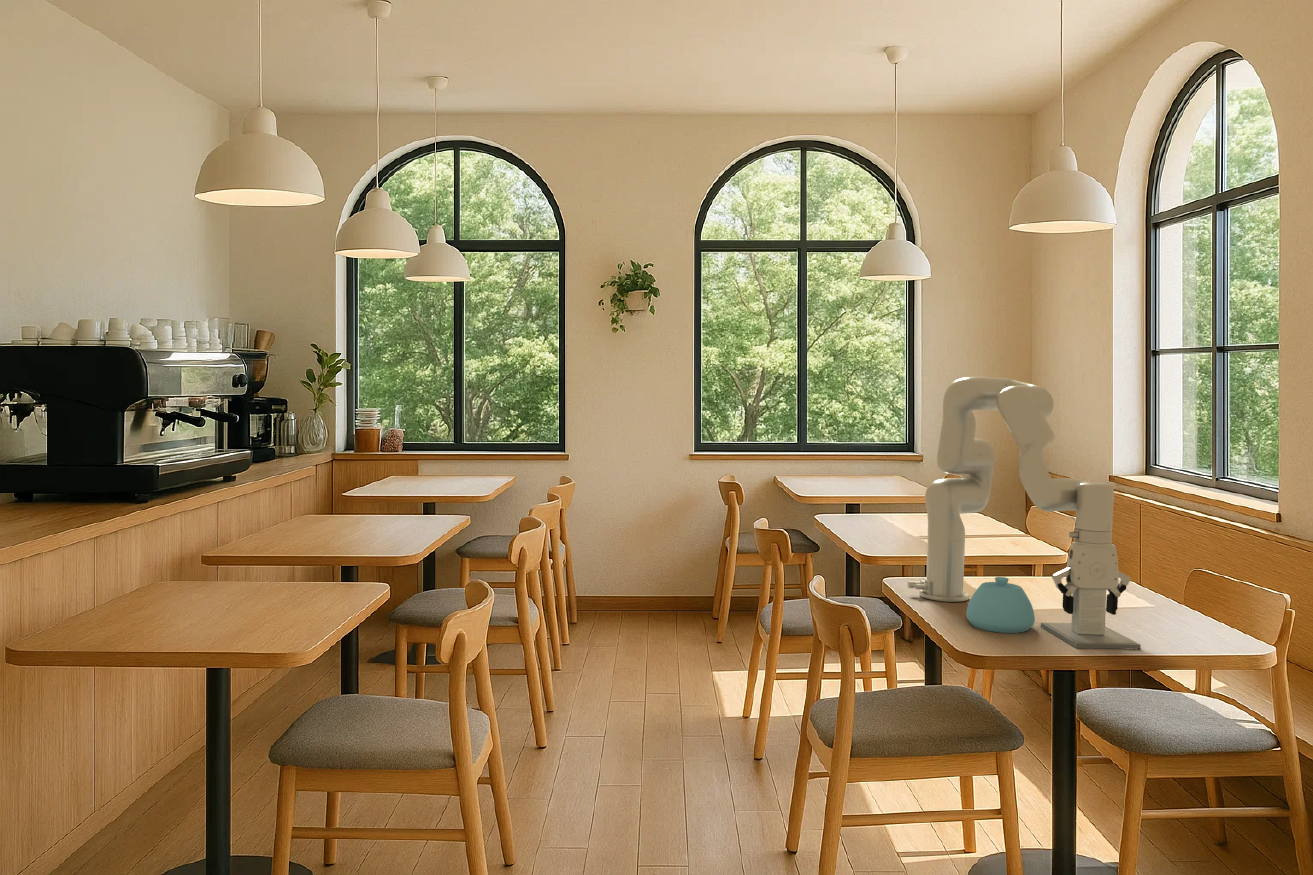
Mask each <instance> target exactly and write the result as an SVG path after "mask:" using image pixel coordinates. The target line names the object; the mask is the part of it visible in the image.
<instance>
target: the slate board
mask: <svg viewBox="0 0 1313 875" xmlns="http://www.w3.org/2000/svg"><path fill="white" fill-rule="evenodd" d="M1071 624H1072V622H1040V628H1042V627H1043V628H1044V629H1043V628H1042V629H1043V630H1045V631H1047V632H1048V631H1049V632H1048V633H1050V634H1052V635H1054V636H1055V637H1057V638H1058V637H1059V638H1058V639H1059V640H1062V641H1063V642H1065V643H1067V644H1068V645H1070V646H1072V647H1074V649H1092V648H1142V647H1141V644H1140V643H1138V642H1137V641H1134V640H1132V639H1131V638H1129V637H1127V636H1125V635H1123V634H1121V633H1119V632H1117V631H1115V630H1114V629H1112V628H1109V627H1107V626H1106V625H1105V635H1087V634H1077V633H1075V632H1074V631H1072V629H1071Z"/></svg>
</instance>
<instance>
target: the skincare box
mask: <svg viewBox="0 0 1313 875" xmlns="http://www.w3.org/2000/svg"><path fill="white" fill-rule="evenodd" d="M1072 596H1073V597H1074V604H1073V613H1072V614H1071V623H1072V624H1071V629H1072V631H1074V632H1075V633H1077V634H1087V635H1105V626H1106V612H1107V611H1106V600H1107V590H1105V589H1079V588H1077V589H1076V590H1075V591H1074V592H1073V593H1072Z"/></svg>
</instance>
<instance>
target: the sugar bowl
mask: <svg viewBox="0 0 1313 875" xmlns="http://www.w3.org/2000/svg"><path fill="white" fill-rule="evenodd" d="M994 580H995V581H986V582H983V583H981V584H980V585H979V586H978V588H977V589H976V590H975V592H974V593H973V594H972V596H971V598H969V601H968V603H967V608H966V618H967V620H968V621H969V623H971V625H972V626H973V627H975V628H977V629H980V630H984V631H988V632H992V631H993V632H994V633H1000V634H1020V633H1019V632H1022V633H1025V632H1024V631H1026V632H1027V631H1029V630H1030V629H1031V628H1032V627H1033V626H1034V624H1035V623H1036V620H1035V619H1036V617H1035V612H1034V607H1033V604H1032V602H1031V600H1030V599H1029V597H1028V595H1027V594H1026V591H1025V590H1024V589H1023V588H1022V586H1020V585H1018V584H1014V583H1011V582H1009V578H1008V577H1005V576H996V577H994Z"/></svg>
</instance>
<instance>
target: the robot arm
mask: <svg viewBox="0 0 1313 875" xmlns="http://www.w3.org/2000/svg"><path fill="white" fill-rule="evenodd" d="M1054 404H1055V403H1054V399H1053V397H1052V395H1051V393H1050V391H1048V390H1047V389H1046V388H1045V387H1043V386H1040V385H1036V384H1032V383H1028V382H1025V381H1024V382H1023V381H1020V380H1016V379H1011V378H1006V377H992V376H991V377H990V376H967V377H961V378H958V379H956V380H954V381H952V382H951V383H950V384H948V386H947V388H946V389H945V392H944V394H943V400H942V424H941V429H940V434H939V442H938V449H937V454H936V463H937V468H938V469H939V471H941V472H942V473H944V474H948V475H961V477H960V478H959V477H952V478H951V477H949V478H940V479H939V478H938V479H935V480H934V481H933V482H931V483H930V484H929V485H928V486H927V488H926V490H925V494H924V495H925V496H924V498H925V499H924V500H925V508H926V512H927V544H926V545H927V552H926V575H925V577H922V580H921V579H920V580H919V581H916V580H911V581H910V580H908V581H907V588H908V589H915V590H919V596H920V597H922V598H924V599H927V600H932V601H937V602H946V603H947V602H950V603H952V602H953V603H954V602H956V603H957V602H958V603H959V602H966V601H968V600H970V594H969V592H966V591H964V581H965V580H964V577H965V575H964V574H965V571H964V570H965V555H966V554H965V550H966V548H965V547H966V529H965V525H964V521H963V520H962V517H961V514H962V515H963V514H965V515H966V514H974V513H978V512H979V513H980V512H981V511H983V510H984V509H985V508H986V506H987V505H988V502H989V500H990V496H991V491H992V490H991V489H992V482H993V477H994V470H995V464H996V463H995V462H996V456H995V451H994V448H993V447H992V444H990V443H989V442H988V440H985V439H983V438H979V437H978V438H976V436H975V434H976V430H977V423H976V417H975V414H974V412H973V411H998V412H999V414H1000V416H1001V418H1002V419H1003V421H1004V423H1005V426H1007V428H1008V430H1009V433H1010V434H1011V436H1012V438H1013V439H1014V441H1015V443H1016V445H1017V447H1018V449H1019V456H1018V463H1017V464H1018V476H1019V477H1018V478H1019V479H1020V482H1021V484H1022V486H1023V488H1024V490H1025V492H1026V494H1027V496H1028V497H1029V499H1030V500H1031V502H1032V503H1033V505H1034V506H1036V508H1038V509H1040V511H1042V512H1048V513H1051V512H1053V513H1054V512H1067V511H1068V512H1069V511H1071V512H1072V511H1075V523H1074V524H1075V526H1074V529H1073V531H1070V532H1069V533H1068V536H1069V538H1072V539H1073V541H1072V542H1071V545H1070V547H1069V552H1068V556H1067V563H1066V568H1064V569H1062V570H1059V571H1057V572H1055V573H1053V574H1051V578H1052V580H1053V583H1054V584H1055V587H1056V589H1058V590H1059V591H1060V593H1061V594H1062V608H1063V611H1064V612H1065V613H1067V614H1068V615H1072V613H1073V604H1074V597H1073V596H1072V593H1073V592H1074V591H1075V590H1076V589H1077V588H1079V589H1105V590H1106V591H1107V592H1108V593H1106V612H1107V613H1109V614H1111V615H1113V616H1115V615H1116V614H1117V610H1118V608H1119V606H1118V604H1119V603H1118V602H1119V597H1121V594H1123V592H1125V591H1126V590H1127V587H1128V585H1129V584H1130V582H1131V579H1132V578H1131V576H1129V575H1127V574H1125V573H1123V572H1121V571H1120V570H1119V560H1118V554H1117V552H1118V551H1117V547H1116V545H1115V544H1113V543H1112V542H1113V540H1112V539H1113V520H1114V519H1113V518H1114V501H1115V490H1114V487H1113V485H1112V484H1110V483H1106V482H1101V481H1100V482H1099V481H1088V480H1085V479H1081V478H1077V477H1066V478H1065V477H1061V478H1060V477H1057V478H1052V477H1051V475H1050V473H1049V472H1048V469H1047V468H1046V465H1045V463H1044V460H1043V453H1044V452H1043V451H1045V450H1046V449H1047V448H1048V447H1050V446H1051V445H1052V444H1053V442H1054V441H1055V438H1056V437H1055V433H1054V431H1053V430H1052V427H1051V426H1050V423H1048V421H1047V419H1046V418H1048V417H1049V416H1050V415H1051V414H1052V413H1053V410H1054ZM1064 578H1065V581H1066V584H1065V585H1064V584H1063V582H1062V580H1063V579H1064ZM1119 579H1120V581H1119Z"/></svg>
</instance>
